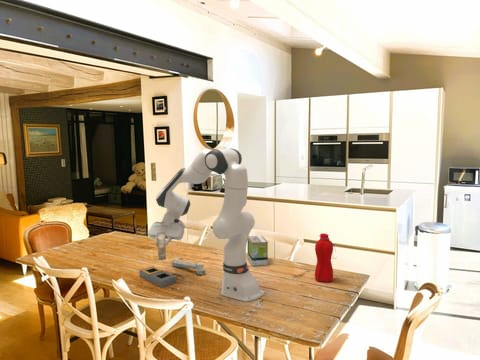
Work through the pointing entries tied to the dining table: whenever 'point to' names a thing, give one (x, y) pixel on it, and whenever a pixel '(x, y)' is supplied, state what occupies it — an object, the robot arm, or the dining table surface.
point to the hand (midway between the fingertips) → (160, 244)
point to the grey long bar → (190, 266)
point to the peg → (161, 246)
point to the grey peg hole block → (158, 276)
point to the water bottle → (324, 259)
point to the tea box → (257, 250)
